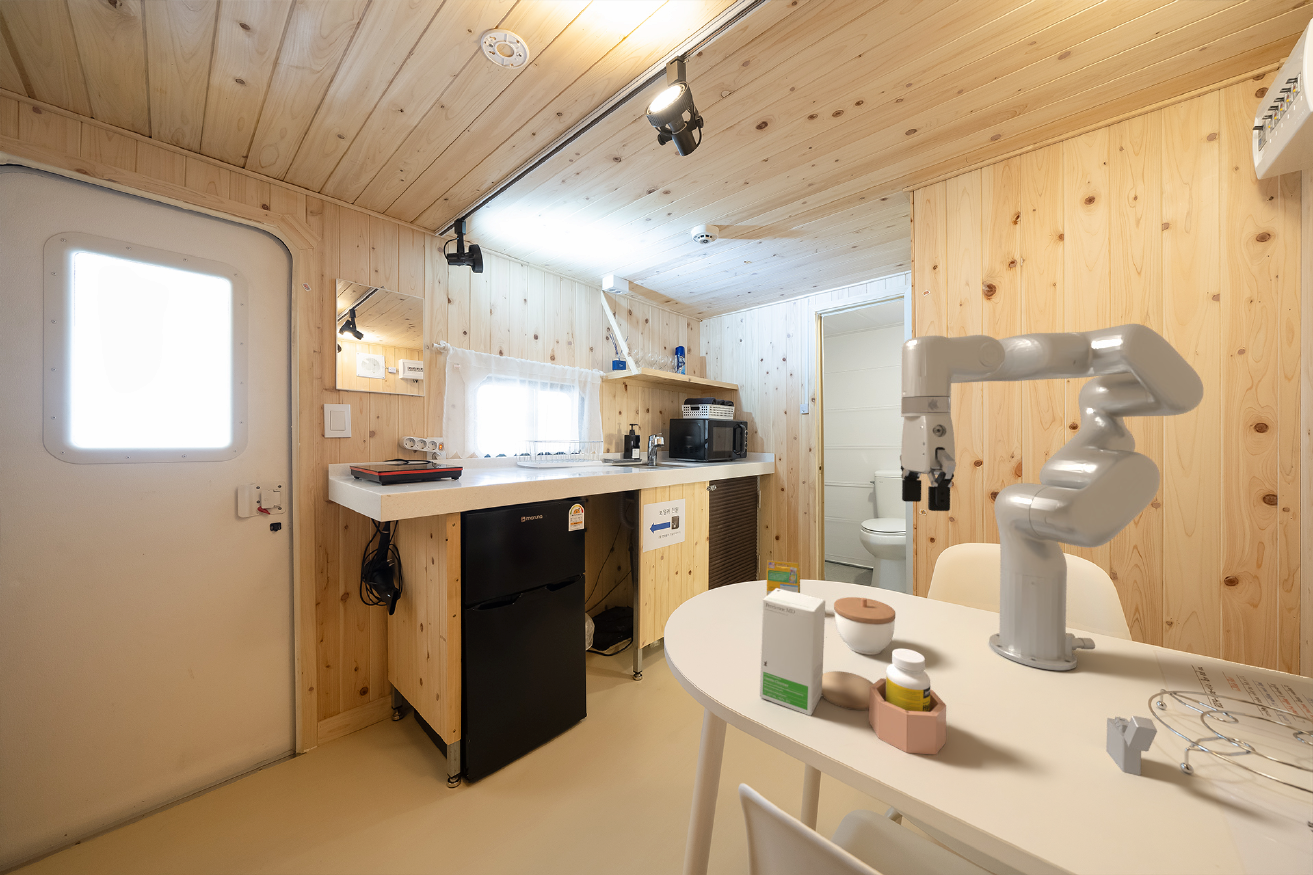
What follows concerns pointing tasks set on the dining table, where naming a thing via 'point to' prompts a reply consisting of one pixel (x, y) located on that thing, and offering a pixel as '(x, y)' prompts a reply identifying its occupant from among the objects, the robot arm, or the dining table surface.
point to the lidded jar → (864, 624)
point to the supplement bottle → (908, 681)
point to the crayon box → (783, 576)
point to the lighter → (1129, 741)
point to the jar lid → (846, 690)
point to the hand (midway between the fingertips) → (924, 505)
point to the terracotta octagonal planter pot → (907, 722)
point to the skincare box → (792, 650)
